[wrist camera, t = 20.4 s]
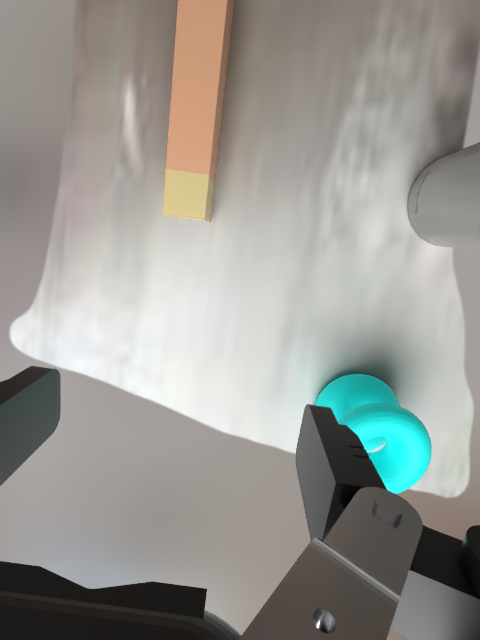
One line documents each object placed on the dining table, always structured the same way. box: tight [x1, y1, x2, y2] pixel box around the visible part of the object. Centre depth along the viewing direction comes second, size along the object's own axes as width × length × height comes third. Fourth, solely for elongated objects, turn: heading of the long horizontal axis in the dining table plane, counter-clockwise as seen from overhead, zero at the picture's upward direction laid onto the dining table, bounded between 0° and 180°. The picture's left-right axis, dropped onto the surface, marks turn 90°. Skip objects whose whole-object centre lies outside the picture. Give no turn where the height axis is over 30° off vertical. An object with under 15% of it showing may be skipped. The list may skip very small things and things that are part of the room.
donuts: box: [315, 374, 431, 494], centre depth 37 cm, size 10×10×10 cm
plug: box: [163, 0, 234, 222], centre depth 32 cm, size 4×20×5 cm, turn 172°
